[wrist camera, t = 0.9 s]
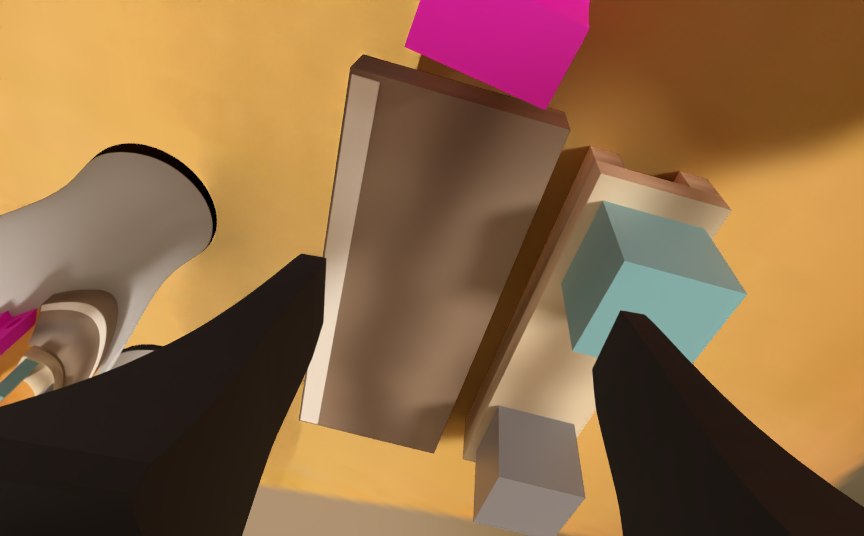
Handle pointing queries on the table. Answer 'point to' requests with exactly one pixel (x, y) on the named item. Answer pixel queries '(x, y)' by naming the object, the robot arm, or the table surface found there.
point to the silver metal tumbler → (93, 265)
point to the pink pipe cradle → (503, 41)
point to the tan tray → (544, 304)
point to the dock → (420, 245)
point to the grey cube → (527, 474)
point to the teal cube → (648, 280)
